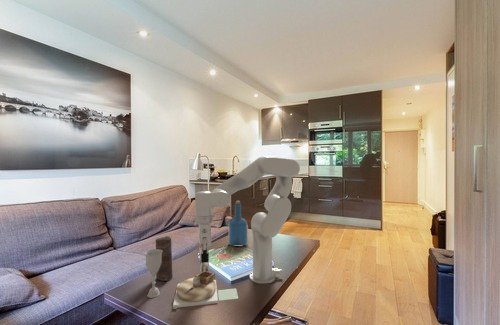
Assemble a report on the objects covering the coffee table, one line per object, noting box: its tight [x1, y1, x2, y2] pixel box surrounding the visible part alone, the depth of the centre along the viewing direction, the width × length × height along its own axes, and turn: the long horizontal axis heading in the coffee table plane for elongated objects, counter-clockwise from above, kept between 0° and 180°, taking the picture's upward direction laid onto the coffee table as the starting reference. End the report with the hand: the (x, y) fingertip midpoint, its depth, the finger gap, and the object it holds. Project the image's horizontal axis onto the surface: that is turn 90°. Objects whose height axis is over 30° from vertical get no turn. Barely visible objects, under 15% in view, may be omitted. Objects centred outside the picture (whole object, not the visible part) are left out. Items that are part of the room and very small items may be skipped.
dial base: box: [172, 279, 219, 310], centre depth 101 cm, size 17×17×2 cm
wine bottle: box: [228, 200, 249, 246], centre depth 164 cm, size 14×13×30 cm
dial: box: [176, 270, 217, 302], centre depth 101 cm, size 16×16×5 cm
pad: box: [217, 287, 239, 302], centre depth 100 cm, size 8×8×1 cm
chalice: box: [144, 248, 163, 299], centre depth 101 cm, size 7×7×18 cm
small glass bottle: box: [198, 242, 210, 273], centre depth 106 cm, size 4×4×12 cm
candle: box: [155, 235, 173, 282], centre depth 115 cm, size 8×7×20 cm
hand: (205, 259), depth 106 cm, fingers closed on small glass bottle, 4 cm apart
